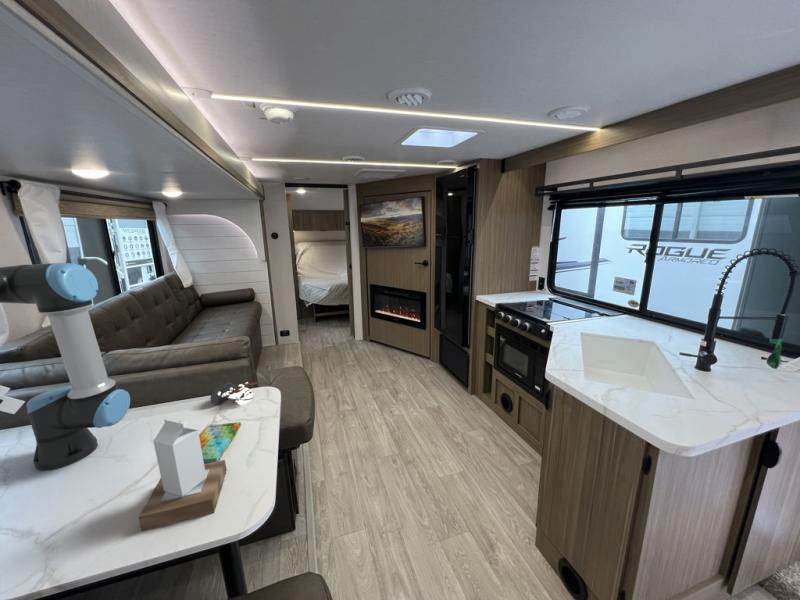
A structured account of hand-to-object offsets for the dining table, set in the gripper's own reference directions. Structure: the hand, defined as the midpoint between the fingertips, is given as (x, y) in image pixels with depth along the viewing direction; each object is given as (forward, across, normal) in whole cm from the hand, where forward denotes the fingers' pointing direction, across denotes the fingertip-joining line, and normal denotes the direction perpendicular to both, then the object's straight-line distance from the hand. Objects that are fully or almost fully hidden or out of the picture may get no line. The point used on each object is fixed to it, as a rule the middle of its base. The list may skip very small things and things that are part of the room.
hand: (12, 400), depth 73 cm
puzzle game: (+52, +4, +1) cm, 52 cm away
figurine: (+69, -20, +18) cm, 74 cm away
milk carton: (+38, +20, -6) cm, 43 cm away
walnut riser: (+41, +20, -9) cm, 46 cm away
